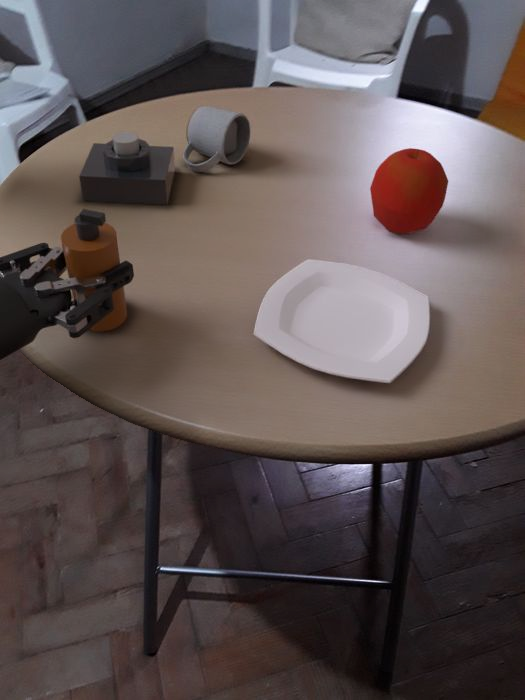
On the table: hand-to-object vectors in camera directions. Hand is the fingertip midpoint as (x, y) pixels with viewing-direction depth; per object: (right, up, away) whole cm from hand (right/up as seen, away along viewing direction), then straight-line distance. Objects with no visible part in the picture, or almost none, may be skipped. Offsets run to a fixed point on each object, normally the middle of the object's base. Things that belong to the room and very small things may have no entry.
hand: (112, 256), depth 69 cm
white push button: (-3, +18, +21) cm, 28 cm away
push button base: (-3, +14, +25) cm, 28 cm away
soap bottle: (-2, -6, +4) cm, 7 cm away
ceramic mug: (+9, +20, +32) cm, 38 cm away
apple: (+36, +7, +20) cm, 42 cm away
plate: (+26, -8, +4) cm, 27 cm away
